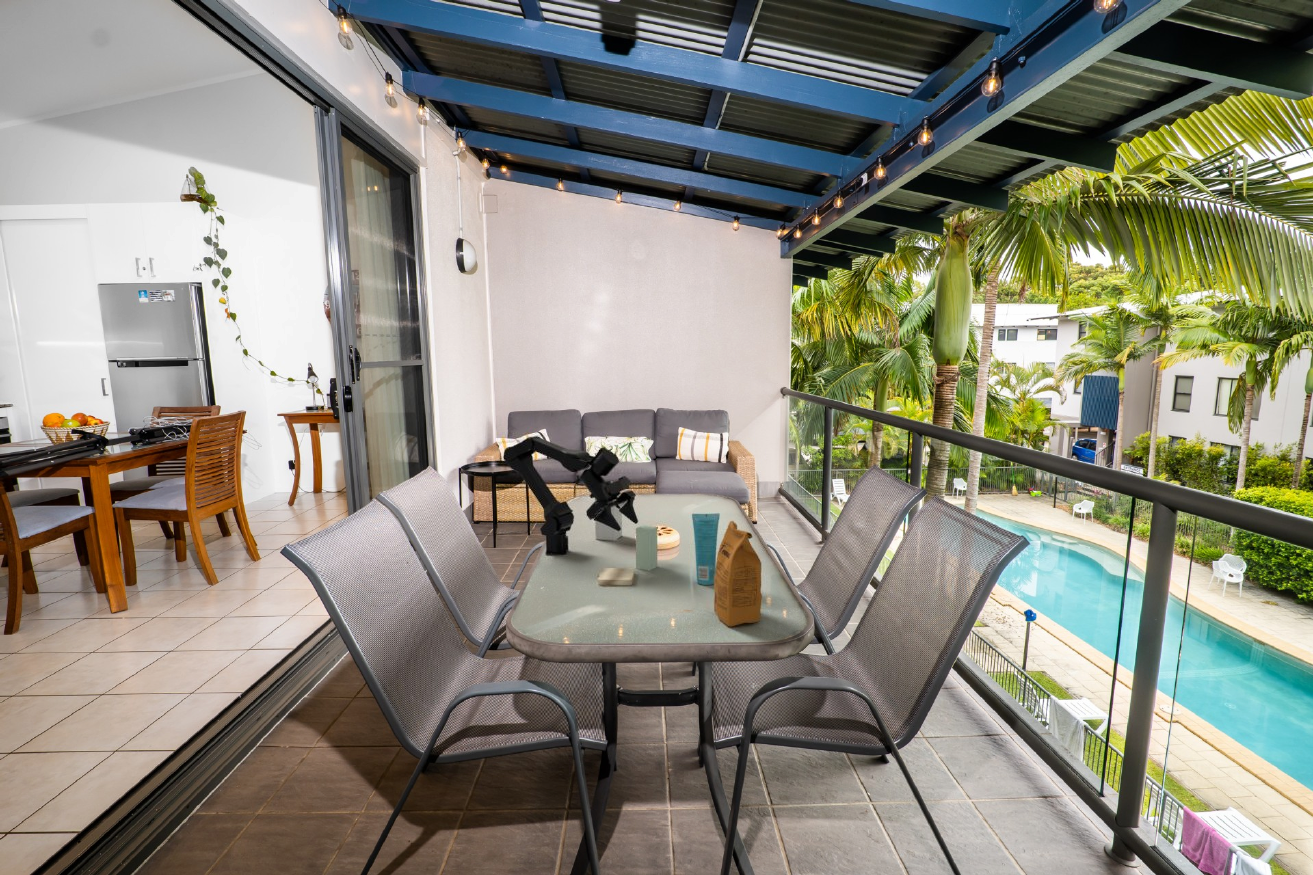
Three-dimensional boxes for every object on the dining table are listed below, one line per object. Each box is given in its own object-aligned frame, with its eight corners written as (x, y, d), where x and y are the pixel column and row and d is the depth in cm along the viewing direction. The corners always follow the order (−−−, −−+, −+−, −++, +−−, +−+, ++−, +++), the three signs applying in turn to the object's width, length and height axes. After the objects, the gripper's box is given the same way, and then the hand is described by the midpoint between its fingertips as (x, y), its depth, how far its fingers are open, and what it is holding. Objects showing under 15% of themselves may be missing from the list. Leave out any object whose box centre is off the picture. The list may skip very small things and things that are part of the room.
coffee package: (747, 604, 149) (749, 517, 147) (765, 626, 137) (767, 531, 135) (708, 607, 148) (709, 520, 145) (723, 629, 136) (724, 534, 133)
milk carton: (595, 539, 205) (594, 484, 203) (603, 533, 212) (602, 480, 210) (614, 541, 203) (614, 485, 201) (622, 535, 210) (621, 481, 208)
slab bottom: (604, 592, 160) (603, 586, 160) (597, 580, 169) (597, 575, 168) (636, 588, 162) (636, 583, 162) (629, 577, 171) (629, 572, 171)
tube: (716, 578, 168) (716, 510, 165) (721, 584, 163) (721, 515, 161) (690, 580, 166) (690, 512, 164) (694, 586, 162) (694, 516, 159)
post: (636, 570, 174) (635, 528, 173) (644, 566, 178) (643, 524, 177) (649, 573, 172) (649, 530, 171) (657, 568, 176) (657, 526, 174)
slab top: (598, 584, 161) (597, 579, 161) (602, 573, 170) (602, 567, 170) (631, 585, 161) (631, 579, 161) (634, 573, 170) (634, 568, 169)
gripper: (593, 473, 170) (627, 516, 165) (630, 464, 185) (661, 503, 181) (572, 498, 174) (604, 540, 170) (609, 486, 190) (639, 525, 186)
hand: (628, 526), depth 177 cm, fingers open, 9 cm apart
